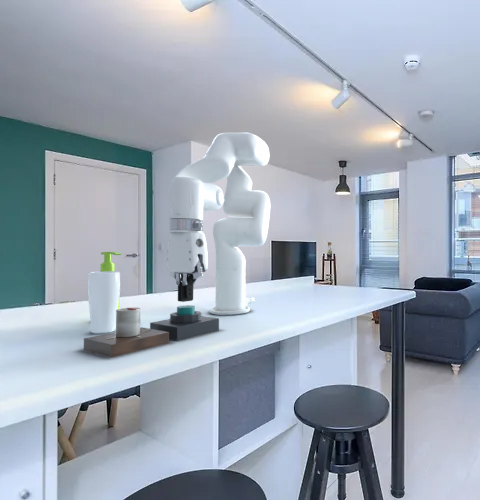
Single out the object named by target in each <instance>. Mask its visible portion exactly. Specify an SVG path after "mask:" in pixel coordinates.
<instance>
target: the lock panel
mask: <svg viewBox="0 0 480 500" xmlns="http://www.w3.org/2000/svg"><path fill="white" fill-rule="evenodd" d="M169 343H170V340H169V332H165V331H160V330H154V329H150V327H149V328H147V327H141V326H140V334H139V335H137V336H132V337H116V331H113V332H109V333H103V334H99V335H94V336H89V337H84V338H83V351H84V352H88V353H92V354H95V355H100V356H104V357H106V358H115V357H121V356H124V355H127V354H131V353H136V352H139V351H143V350H147V349H151V348H156V347H159V346H163V345H167V344H169Z"/></svg>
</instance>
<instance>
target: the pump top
mask: <svg viewBox="0 0 480 500" xmlns="http://www.w3.org/2000/svg"><path fill="white" fill-rule="evenodd" d="M195 308H196V306H195V305H192V304H191V305H189V304H187V305H179V306H178V305H177V307H176V312H177V315H190V314H195V311H196V309H195Z"/></svg>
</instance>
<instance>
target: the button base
mask: <svg viewBox="0 0 480 500" xmlns="http://www.w3.org/2000/svg"><path fill="white" fill-rule="evenodd" d="M149 329H154V330H160V331H165V332H169V341H175V342H179V341H183V340H187V339H191V338H194V337H195V338H196V337H199V336H202V335H207V334H211V333H214V332H218V331H220V318H219V317H211V316H203V315H202V312H201V311H198V310H195V314H190V315H177V311H174V312H172V313H170V314H169V319H168V318H167V319H162V320H158V321H157V320H156V321H151V322H149Z"/></svg>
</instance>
